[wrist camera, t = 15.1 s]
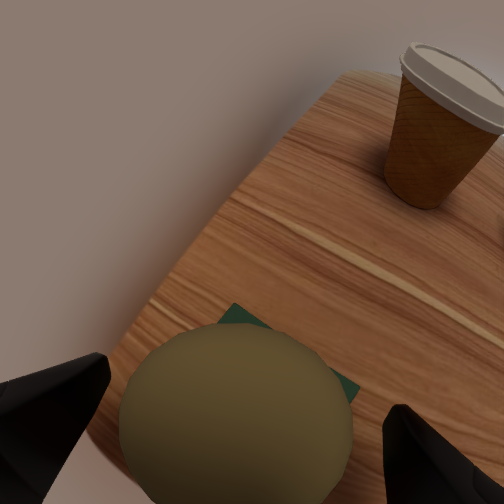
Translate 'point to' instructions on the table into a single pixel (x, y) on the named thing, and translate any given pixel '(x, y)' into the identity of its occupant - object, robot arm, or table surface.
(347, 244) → the table surface
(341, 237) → the table surface
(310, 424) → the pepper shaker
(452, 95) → the disposable coffee cup
